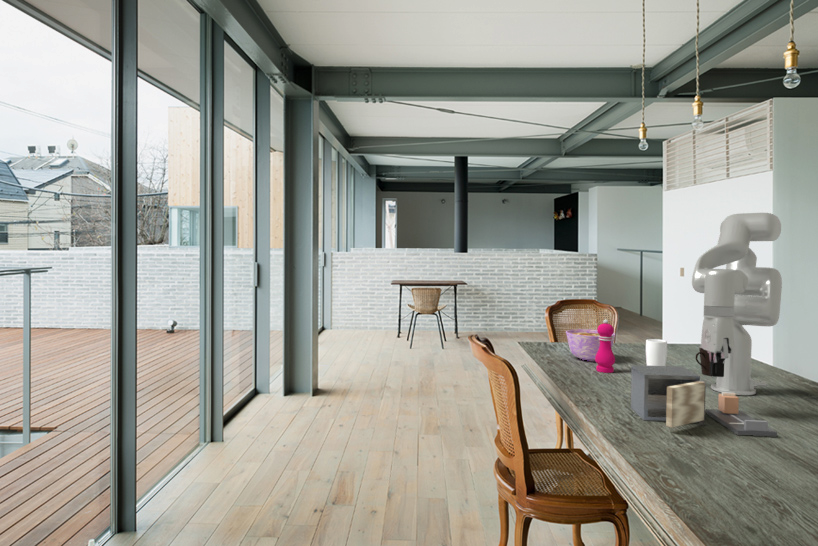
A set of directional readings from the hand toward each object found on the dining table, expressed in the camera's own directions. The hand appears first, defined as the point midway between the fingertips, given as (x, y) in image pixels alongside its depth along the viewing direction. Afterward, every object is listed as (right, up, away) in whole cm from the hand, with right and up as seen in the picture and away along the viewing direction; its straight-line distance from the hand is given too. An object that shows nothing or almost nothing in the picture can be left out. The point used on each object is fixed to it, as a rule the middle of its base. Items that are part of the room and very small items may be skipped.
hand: (716, 376), depth 149 cm
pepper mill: (-13, -8, +50) cm, 53 cm away
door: (-17, -10, -15) cm, 25 cm away
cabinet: (-17, -10, -4) cm, 20 cm away
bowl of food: (-11, -8, +72) cm, 73 cm away
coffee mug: (+23, -9, +45) cm, 52 cm away
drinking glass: (-3, -9, +32) cm, 33 cm away
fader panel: (-1, -10, -12) cm, 16 cm away
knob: (0, -9, -6) cm, 11 cm away
